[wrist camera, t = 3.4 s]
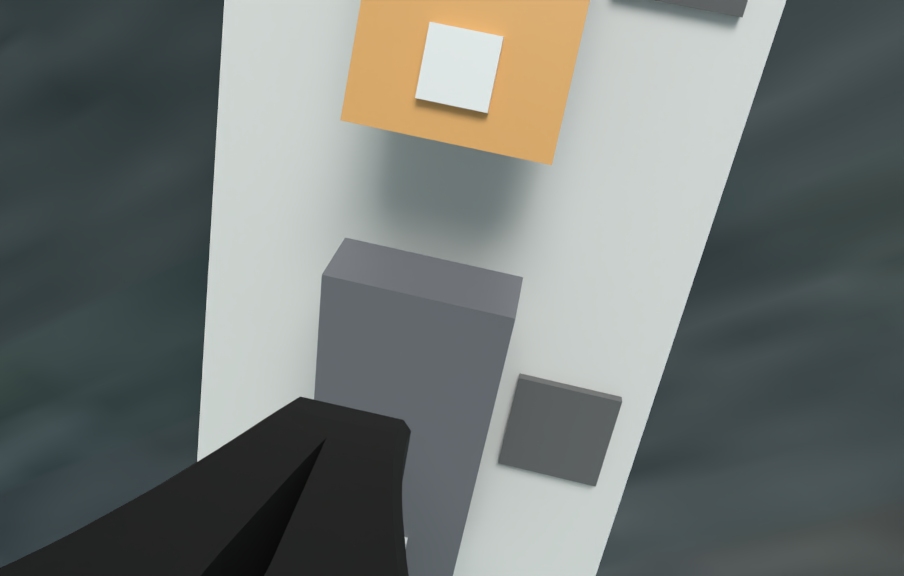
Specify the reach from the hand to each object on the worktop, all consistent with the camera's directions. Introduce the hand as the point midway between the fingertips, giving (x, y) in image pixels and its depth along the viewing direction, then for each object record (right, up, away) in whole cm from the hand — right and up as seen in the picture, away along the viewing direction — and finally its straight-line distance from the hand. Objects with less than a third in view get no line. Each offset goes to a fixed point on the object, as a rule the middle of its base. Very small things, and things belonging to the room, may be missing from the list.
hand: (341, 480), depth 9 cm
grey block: (0, 0, +5) cm, 5 cm away
